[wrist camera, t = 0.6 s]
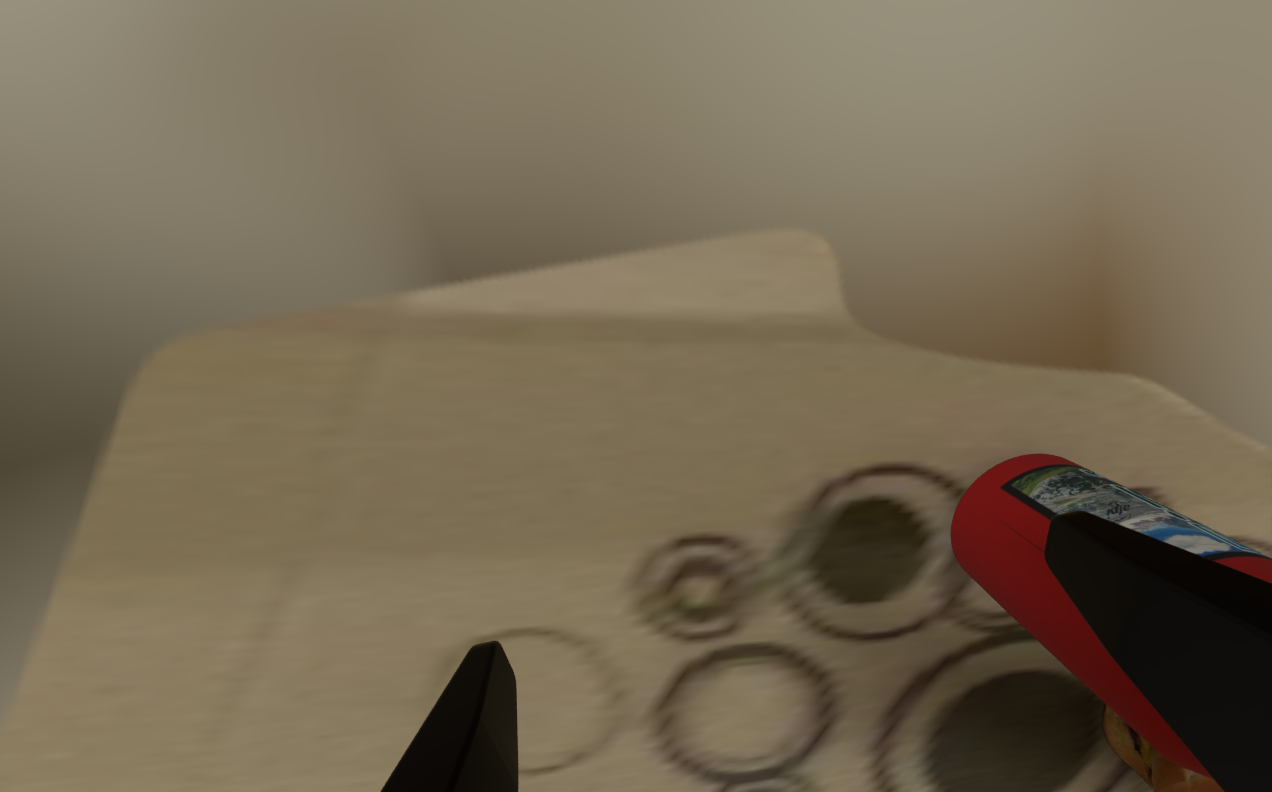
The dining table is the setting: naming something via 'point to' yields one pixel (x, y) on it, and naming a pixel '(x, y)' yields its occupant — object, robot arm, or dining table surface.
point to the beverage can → (1027, 589)
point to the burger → (1152, 760)
